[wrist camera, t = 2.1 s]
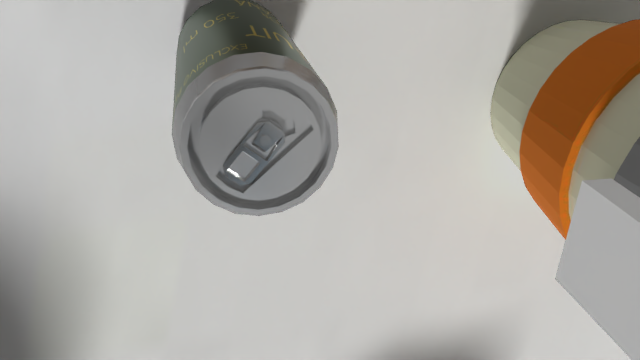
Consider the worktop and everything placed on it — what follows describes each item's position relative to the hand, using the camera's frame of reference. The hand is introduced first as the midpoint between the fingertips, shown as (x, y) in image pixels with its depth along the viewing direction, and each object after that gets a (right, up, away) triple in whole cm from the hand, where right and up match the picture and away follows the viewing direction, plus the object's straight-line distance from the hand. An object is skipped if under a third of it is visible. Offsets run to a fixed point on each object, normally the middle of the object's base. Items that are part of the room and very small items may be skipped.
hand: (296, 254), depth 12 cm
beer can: (-4, +8, +16) cm, 18 cm away
